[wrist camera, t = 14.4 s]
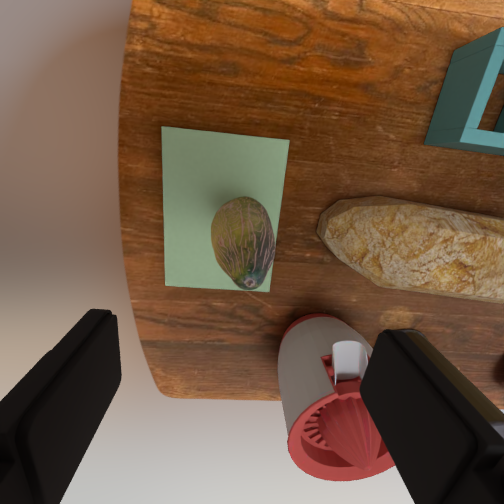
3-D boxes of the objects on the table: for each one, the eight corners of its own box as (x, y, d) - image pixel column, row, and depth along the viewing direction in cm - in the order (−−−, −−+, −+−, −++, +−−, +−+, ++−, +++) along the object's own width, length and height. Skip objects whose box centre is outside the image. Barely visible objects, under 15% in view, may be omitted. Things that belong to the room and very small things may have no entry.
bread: (309, 258, 39) (331, 289, 30) (328, 186, 36) (360, 196, 26) (511, 287, 43) (586, 323, 34) (547, 225, 40) (643, 247, 30)
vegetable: (213, 226, 36) (188, 302, 17) (223, 182, 34) (206, 213, 15) (255, 236, 37) (273, 319, 18) (267, 194, 35) (302, 236, 16)
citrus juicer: (364, 289, 42) (466, 396, 23) (352, 371, 48) (426, 508, 29) (269, 294, 41) (296, 407, 23) (269, 376, 47) (291, 519, 29)
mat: (163, 126, 32) (161, 126, 31) (288, 140, 33) (289, 140, 32) (166, 282, 40) (165, 286, 39) (268, 289, 41) (269, 292, 40)
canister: (360, 354, 47) (442, 486, 28) (406, 318, 44) (530, 435, 26) (394, 383, 50) (489, 520, 31) (439, 350, 47) (571, 477, 29)
